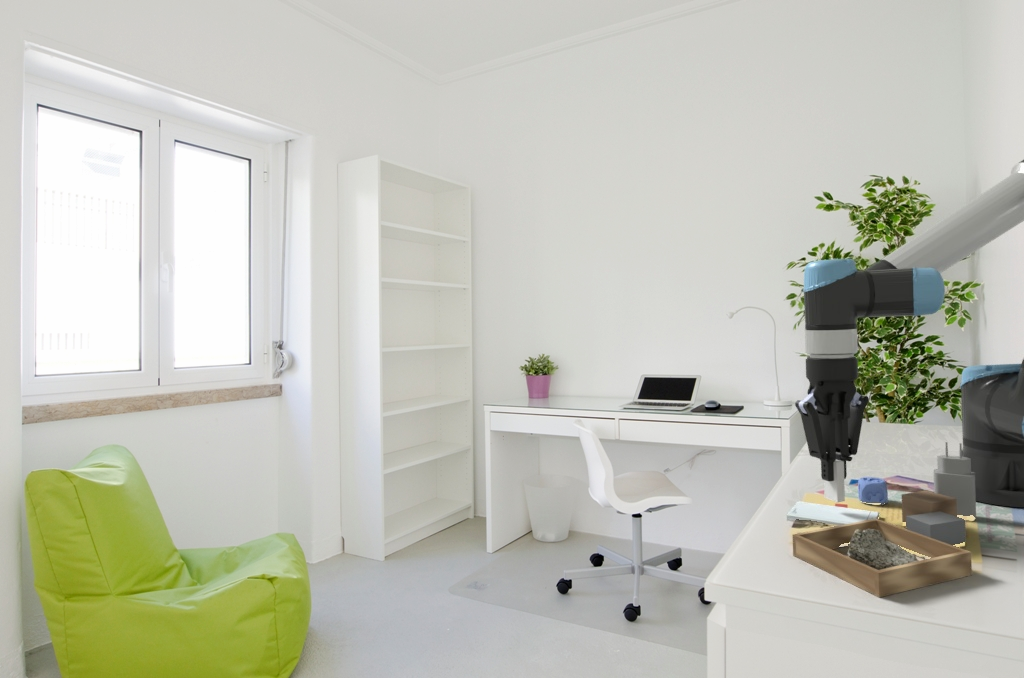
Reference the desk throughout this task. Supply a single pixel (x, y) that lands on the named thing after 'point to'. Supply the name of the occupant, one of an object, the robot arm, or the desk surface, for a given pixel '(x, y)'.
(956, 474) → the power adapter
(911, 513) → the walnut block
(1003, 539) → the desk surface
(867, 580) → the oak frame
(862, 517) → the hard drive
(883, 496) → the decorative dice
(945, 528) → the charcoal block
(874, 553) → the rock sample
